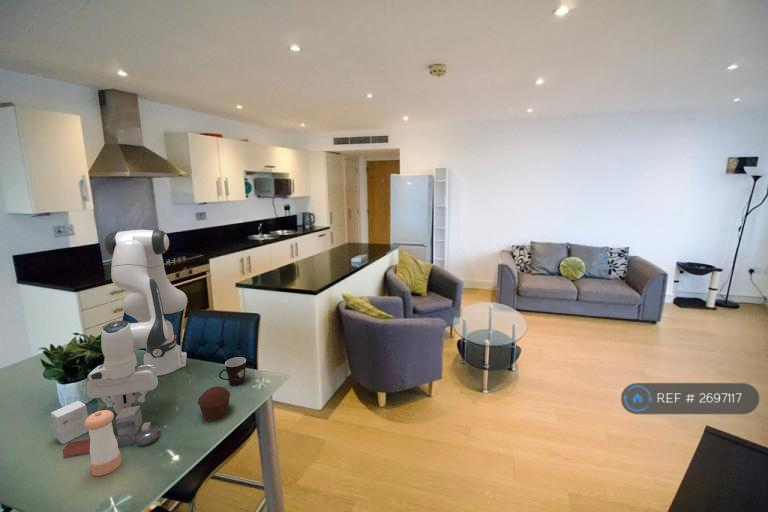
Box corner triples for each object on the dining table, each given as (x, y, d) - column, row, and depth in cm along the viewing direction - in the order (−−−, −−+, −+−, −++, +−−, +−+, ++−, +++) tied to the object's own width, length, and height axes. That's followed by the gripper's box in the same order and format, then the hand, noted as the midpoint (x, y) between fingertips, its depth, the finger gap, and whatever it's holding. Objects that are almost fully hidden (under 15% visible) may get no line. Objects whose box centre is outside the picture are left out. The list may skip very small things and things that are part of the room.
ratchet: (73, 446, 115) (70, 430, 113) (162, 431, 122) (160, 416, 121) (60, 461, 108) (57, 445, 107) (156, 444, 116) (154, 429, 115)
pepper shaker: (116, 472, 104) (107, 416, 100) (87, 478, 102) (77, 422, 98) (125, 455, 111) (117, 402, 107) (98, 461, 108) (88, 407, 105)
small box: (83, 425, 125) (79, 399, 123) (91, 430, 122) (86, 404, 120) (55, 439, 118) (49, 412, 116) (62, 445, 115) (57, 417, 113)
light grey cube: (124, 425, 125) (122, 408, 124) (142, 422, 127) (140, 405, 125) (118, 435, 120) (115, 417, 118) (136, 432, 121) (134, 414, 120)
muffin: (210, 403, 138) (208, 381, 136) (236, 404, 138) (235, 382, 136) (192, 422, 127) (190, 398, 125) (221, 424, 126) (219, 399, 124)
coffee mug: (245, 375, 160) (244, 355, 158) (248, 384, 152) (247, 363, 150) (218, 382, 154) (216, 361, 152) (220, 391, 146) (218, 370, 145)
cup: (124, 419, 128) (120, 395, 126) (106, 416, 130) (102, 393, 128) (143, 406, 136) (140, 383, 134) (126, 403, 137) (123, 381, 136)
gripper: (158, 359, 124) (162, 394, 127) (91, 367, 119) (97, 403, 121) (152, 367, 118) (156, 404, 121) (81, 376, 113) (87, 414, 115)
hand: (126, 403), depth 121 cm, fingers open, 8 cm apart
